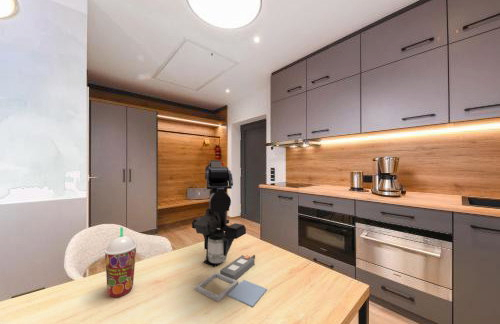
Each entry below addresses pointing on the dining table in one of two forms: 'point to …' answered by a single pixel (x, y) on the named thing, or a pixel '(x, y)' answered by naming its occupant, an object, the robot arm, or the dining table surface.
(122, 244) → the smoothie
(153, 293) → the dining table surface
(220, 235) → the camera lens
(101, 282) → the dining table surface
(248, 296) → the mat
